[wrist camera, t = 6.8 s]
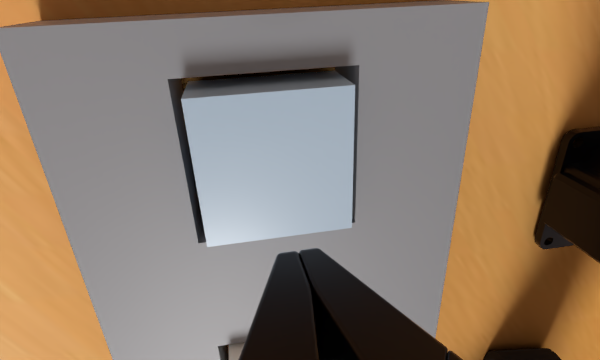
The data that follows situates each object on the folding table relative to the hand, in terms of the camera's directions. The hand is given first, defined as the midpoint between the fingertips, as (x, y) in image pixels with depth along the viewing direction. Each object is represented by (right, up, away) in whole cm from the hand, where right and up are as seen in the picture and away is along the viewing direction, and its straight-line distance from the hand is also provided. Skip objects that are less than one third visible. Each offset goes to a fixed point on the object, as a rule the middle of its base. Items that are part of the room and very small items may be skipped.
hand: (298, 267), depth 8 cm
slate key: (-1, +3, +6) cm, 7 cm away
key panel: (-1, -1, +10) cm, 10 cm away
